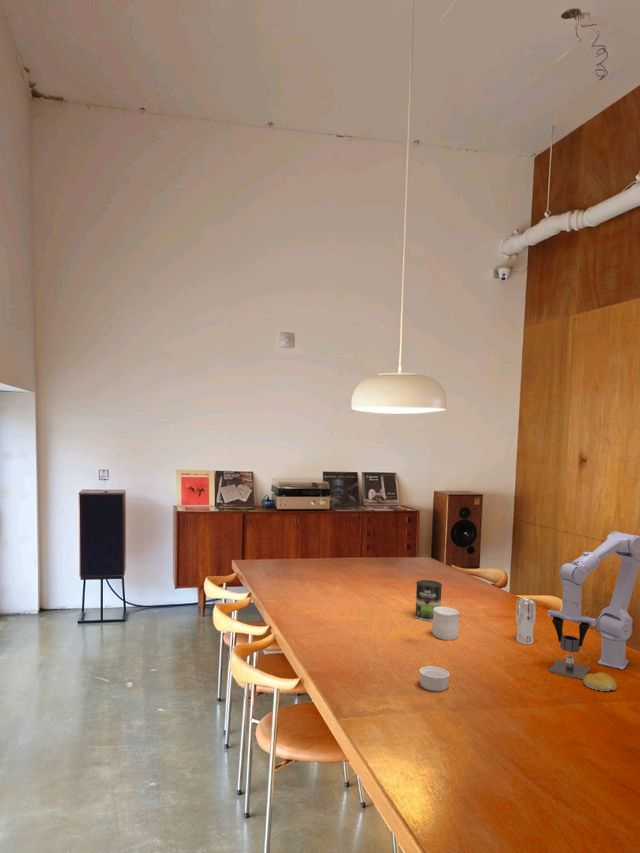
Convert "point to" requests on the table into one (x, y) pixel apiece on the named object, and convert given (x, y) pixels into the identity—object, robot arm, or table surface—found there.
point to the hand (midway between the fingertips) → (570, 643)
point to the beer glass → (525, 620)
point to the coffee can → (427, 599)
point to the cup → (445, 623)
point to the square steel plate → (569, 668)
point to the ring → (570, 643)
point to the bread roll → (599, 681)
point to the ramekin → (434, 678)
